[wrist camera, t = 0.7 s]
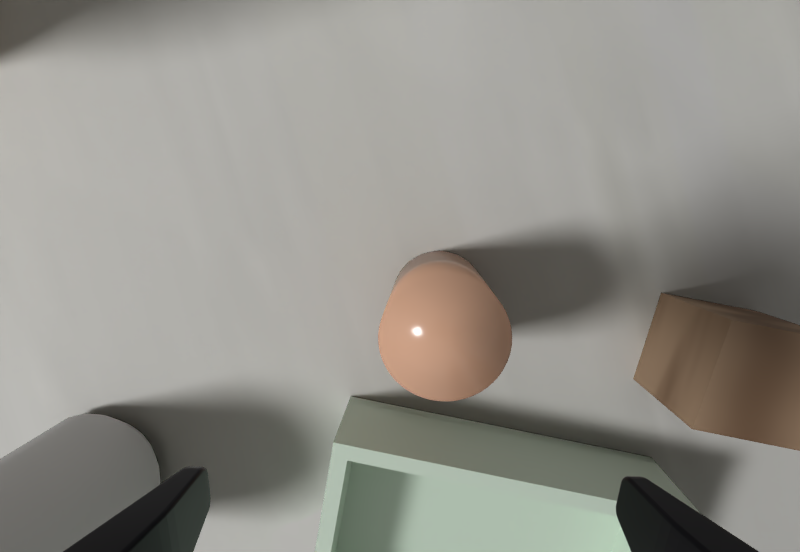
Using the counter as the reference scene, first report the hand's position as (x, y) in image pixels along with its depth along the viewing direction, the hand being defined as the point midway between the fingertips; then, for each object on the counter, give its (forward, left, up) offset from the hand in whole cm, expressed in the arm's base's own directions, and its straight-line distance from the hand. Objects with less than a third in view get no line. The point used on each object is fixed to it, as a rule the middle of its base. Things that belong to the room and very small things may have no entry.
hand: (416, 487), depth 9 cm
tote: (-6, +13, -14) cm, 19 cm away
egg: (-1, -1, -14) cm, 14 cm away
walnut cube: (-15, -1, -14) cm, 20 cm away
